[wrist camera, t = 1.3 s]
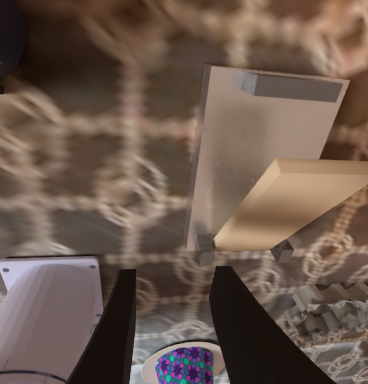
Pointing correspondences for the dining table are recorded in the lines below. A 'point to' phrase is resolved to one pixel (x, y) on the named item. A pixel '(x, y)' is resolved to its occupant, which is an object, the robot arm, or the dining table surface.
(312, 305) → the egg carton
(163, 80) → the dining table surface
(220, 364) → the purple beige domed disc
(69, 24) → the dining table surface
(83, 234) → the dining table surface
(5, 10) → the speaker
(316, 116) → the block
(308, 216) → the latch bar
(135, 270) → the robot arm
